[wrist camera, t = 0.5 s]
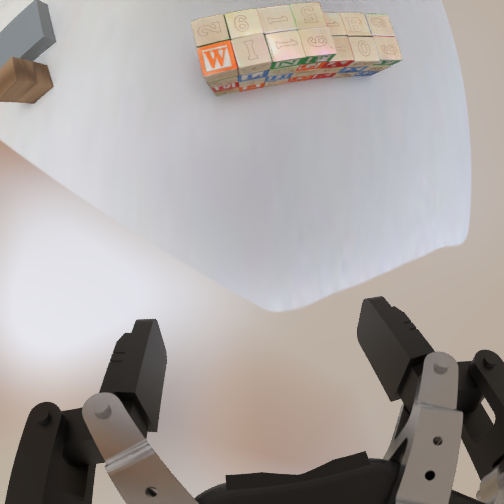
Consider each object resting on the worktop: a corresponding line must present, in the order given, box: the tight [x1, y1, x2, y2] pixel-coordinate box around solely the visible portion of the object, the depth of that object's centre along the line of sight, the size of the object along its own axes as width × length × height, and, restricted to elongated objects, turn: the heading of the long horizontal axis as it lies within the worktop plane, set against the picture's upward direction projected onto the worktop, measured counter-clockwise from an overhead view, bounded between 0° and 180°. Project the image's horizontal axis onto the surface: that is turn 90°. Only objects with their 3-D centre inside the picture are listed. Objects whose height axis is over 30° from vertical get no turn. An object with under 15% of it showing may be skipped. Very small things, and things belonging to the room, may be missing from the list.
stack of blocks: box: [191, 2, 402, 96], centre depth 26 cm, size 21×6×12 cm, turn 102°
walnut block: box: [0, 57, 53, 103], centre depth 25 cm, size 4×4×9 cm
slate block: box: [0, 0, 56, 69], centre depth 25 cm, size 10×10×4 cm
